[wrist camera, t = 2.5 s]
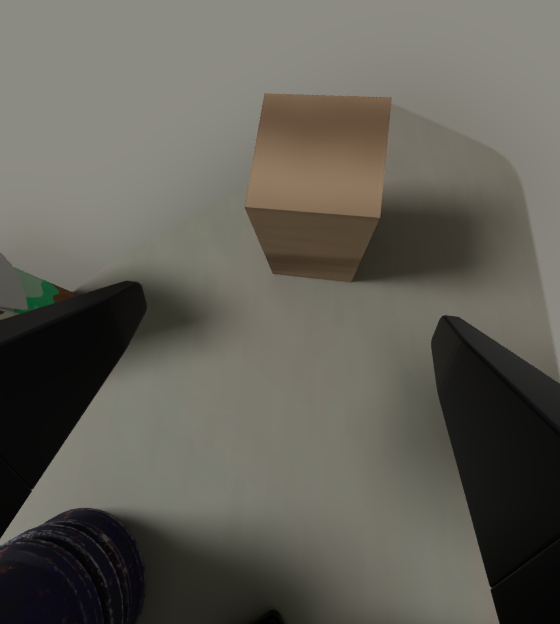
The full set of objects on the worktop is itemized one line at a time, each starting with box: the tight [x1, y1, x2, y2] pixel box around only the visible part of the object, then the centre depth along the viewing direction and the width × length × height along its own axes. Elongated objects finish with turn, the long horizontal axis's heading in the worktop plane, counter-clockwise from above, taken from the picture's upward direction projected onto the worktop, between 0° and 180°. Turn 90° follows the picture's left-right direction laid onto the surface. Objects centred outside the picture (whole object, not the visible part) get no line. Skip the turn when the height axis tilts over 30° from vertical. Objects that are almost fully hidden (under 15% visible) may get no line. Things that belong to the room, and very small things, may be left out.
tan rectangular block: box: [245, 94, 391, 282], centre depth 19 cm, size 6×6×10 cm
